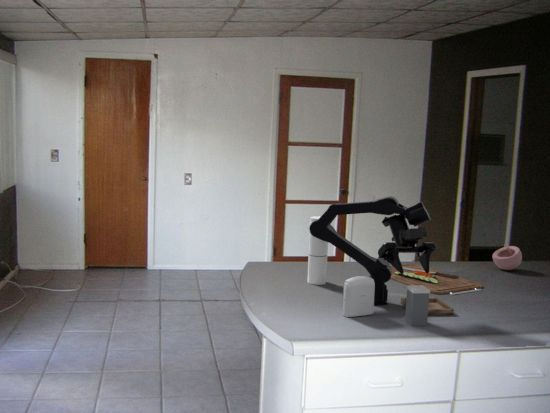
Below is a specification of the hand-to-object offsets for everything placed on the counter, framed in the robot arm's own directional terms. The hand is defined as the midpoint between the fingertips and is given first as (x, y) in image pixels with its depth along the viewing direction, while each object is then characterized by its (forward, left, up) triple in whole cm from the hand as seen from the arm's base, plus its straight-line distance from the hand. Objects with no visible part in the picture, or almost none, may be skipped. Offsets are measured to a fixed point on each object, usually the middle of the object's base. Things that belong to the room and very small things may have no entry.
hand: (415, 273), depth 174 cm
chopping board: (+23, +47, -15) cm, 54 cm away
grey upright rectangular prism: (-1, -6, -14) cm, 15 cm away
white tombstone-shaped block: (-17, +2, -14) cm, 22 cm away
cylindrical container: (-22, +41, -14) cm, 49 cm away
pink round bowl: (+68, +62, -14) cm, 93 cm away
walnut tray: (+8, +7, -14) cm, 18 cm away
